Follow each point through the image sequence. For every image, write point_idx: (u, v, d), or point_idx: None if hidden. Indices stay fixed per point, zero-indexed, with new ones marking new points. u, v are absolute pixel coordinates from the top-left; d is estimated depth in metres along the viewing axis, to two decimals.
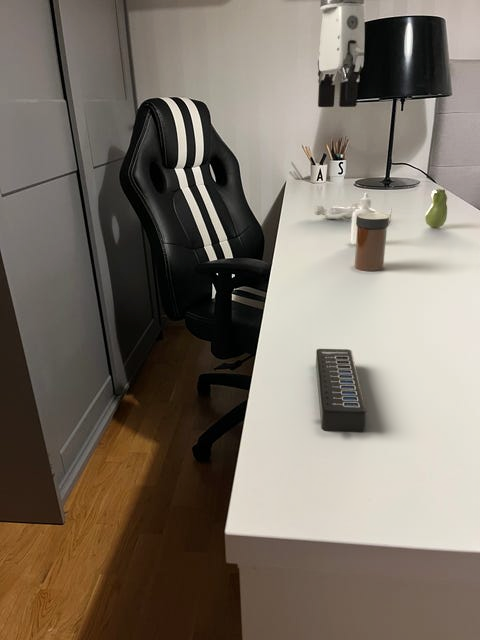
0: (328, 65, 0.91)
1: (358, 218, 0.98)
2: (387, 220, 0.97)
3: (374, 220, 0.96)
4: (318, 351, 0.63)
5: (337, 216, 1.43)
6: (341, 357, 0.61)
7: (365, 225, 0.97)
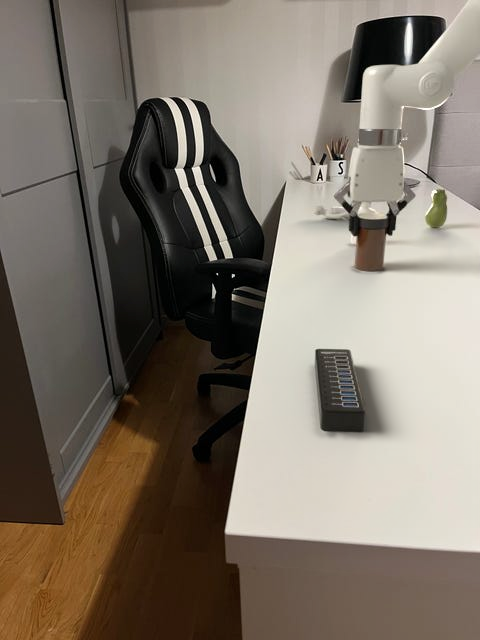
0: (379, 196, 0.95)
1: None
2: (387, 220, 0.97)
3: (374, 220, 0.96)
4: (317, 351, 0.63)
5: (337, 216, 1.43)
6: (340, 357, 0.61)
7: (365, 225, 0.97)
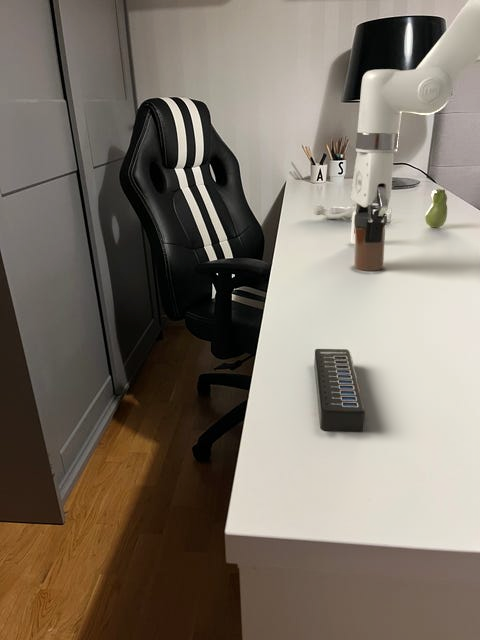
0: None
1: None
2: None
3: None
4: (316, 351, 0.63)
5: (337, 216, 1.43)
6: (339, 357, 0.61)
7: (385, 222, 0.97)
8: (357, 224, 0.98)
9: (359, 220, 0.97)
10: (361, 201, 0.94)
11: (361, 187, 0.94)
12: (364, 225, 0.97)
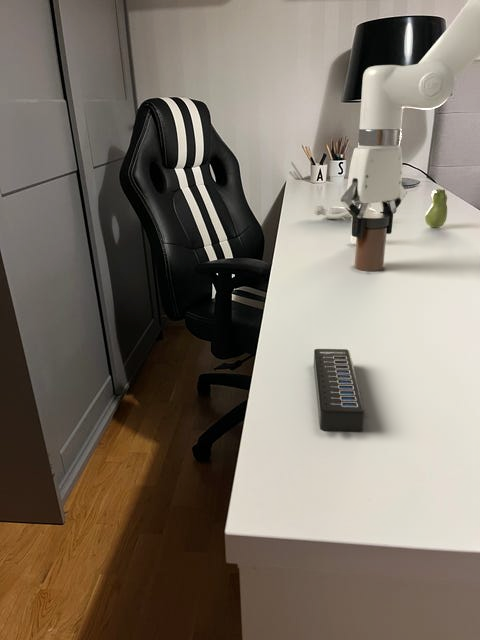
0: (383, 196, 0.95)
1: (387, 218, 0.97)
2: None
3: None
4: (316, 351, 0.63)
5: (337, 216, 1.43)
6: (339, 357, 0.61)
7: None
8: (365, 225, 0.97)
9: (367, 221, 0.96)
10: None
11: None
12: (374, 225, 0.96)
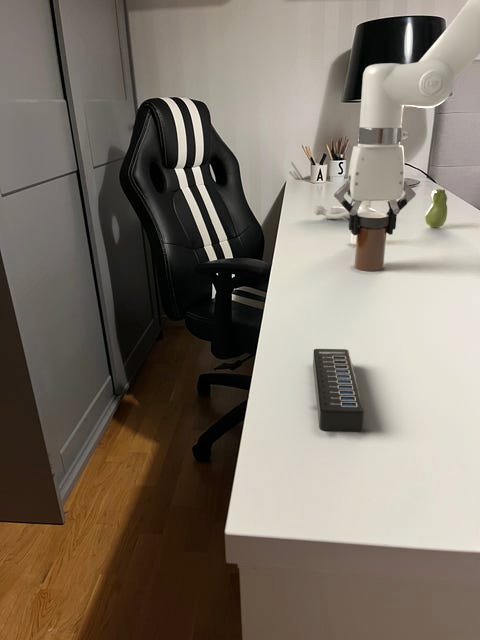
0: (379, 195, 0.95)
1: None
2: None
3: None
4: (315, 351, 0.63)
5: (337, 216, 1.43)
6: (338, 357, 0.61)
7: None
8: (383, 224, 0.97)
9: (385, 220, 0.96)
10: None
11: None
12: (388, 223, 0.98)
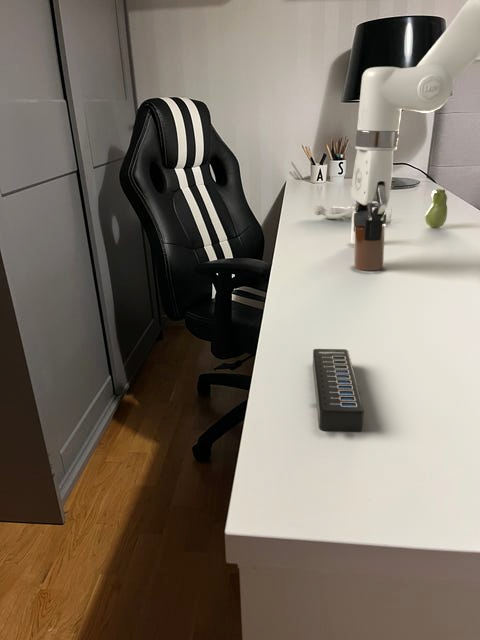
0: None
1: None
2: (366, 219, 0.96)
3: (354, 216, 0.98)
4: (315, 351, 0.63)
5: (337, 216, 1.43)
6: (338, 357, 0.61)
7: None
8: None
9: None
10: (361, 199, 0.94)
11: (361, 185, 0.94)
12: None
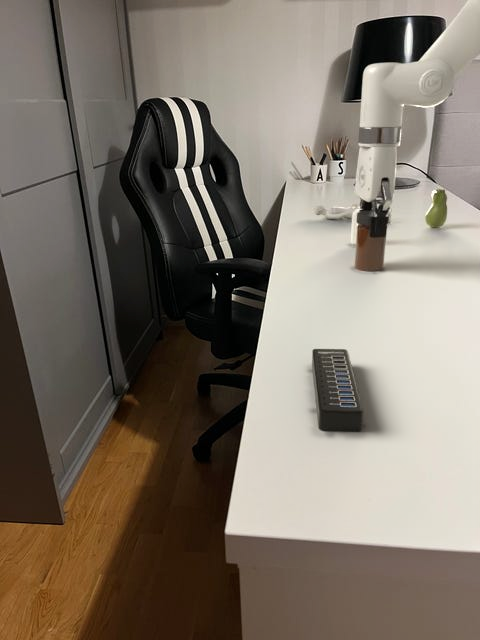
0: None
1: (361, 216, 0.97)
2: None
3: None
4: (314, 351, 0.63)
5: (337, 216, 1.43)
6: (337, 357, 0.61)
7: None
8: None
9: None
10: (365, 196, 0.94)
11: (364, 182, 0.94)
12: None
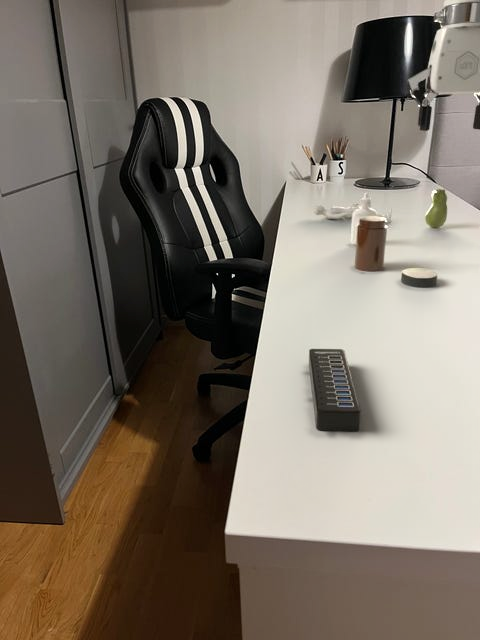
0: None
1: (432, 278, 0.90)
2: None
3: None
4: (311, 351, 0.63)
5: (337, 216, 1.43)
6: (334, 357, 0.61)
7: None
8: (407, 283, 0.92)
9: (409, 279, 0.91)
10: None
11: (478, 70, 0.83)
12: (416, 285, 0.91)
